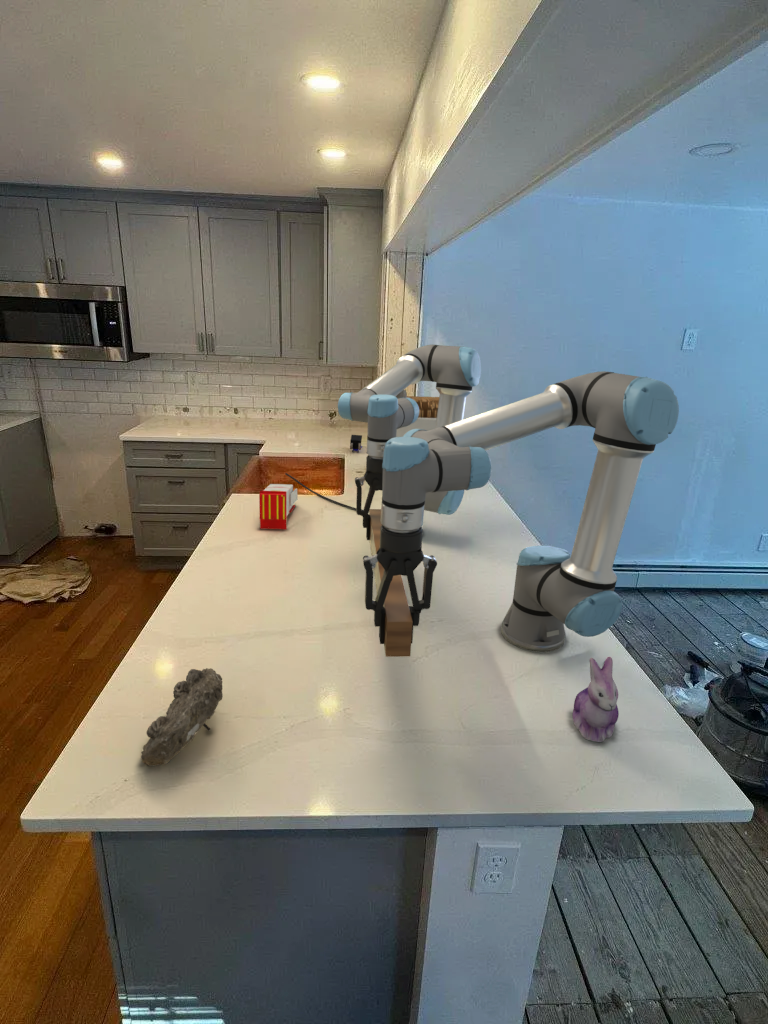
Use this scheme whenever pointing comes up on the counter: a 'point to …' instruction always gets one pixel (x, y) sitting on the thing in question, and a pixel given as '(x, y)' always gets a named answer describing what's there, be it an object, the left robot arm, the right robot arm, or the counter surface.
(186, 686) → the fossil
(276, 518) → the toy
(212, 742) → the counter surface
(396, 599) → the post
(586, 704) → the figurine
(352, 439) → the figurine character
